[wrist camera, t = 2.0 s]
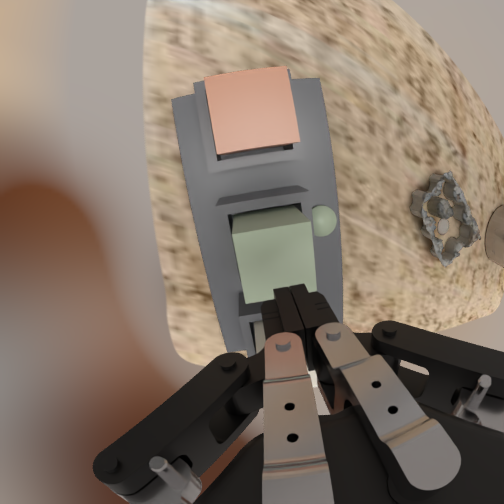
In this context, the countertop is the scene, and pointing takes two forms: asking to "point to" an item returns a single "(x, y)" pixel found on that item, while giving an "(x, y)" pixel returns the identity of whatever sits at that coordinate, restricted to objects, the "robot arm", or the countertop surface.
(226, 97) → the terracotta key
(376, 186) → the countertop surface
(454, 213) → the grey ruined fortress
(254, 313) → the key panel
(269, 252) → the sage key
